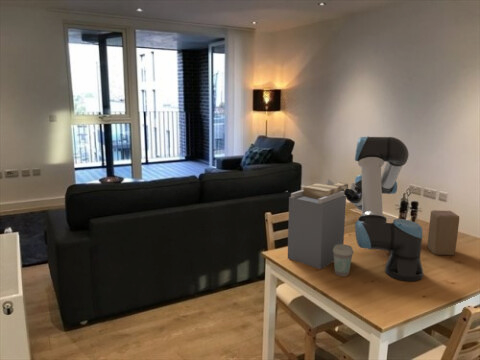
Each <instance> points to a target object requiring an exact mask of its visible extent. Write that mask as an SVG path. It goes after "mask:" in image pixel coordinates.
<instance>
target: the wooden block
mask: <svg viewBox="0 0 480 360" xmlns="http://www.w3.org/2000/svg"><path fill="white" fill-rule="evenodd" d="M459 224H460V216H459V215H458V214H456V213H455V212H453V211H451V210H437V209H436V210H431V211H430V217H429V228H428V236H427V246H426V247H427V249H428V250H429V251H430V252H431V253H432V254H433V255H435V256H436V255H437V256H455V255H456V250H457V242H458V241H457V240H458V233H459V227H460V226H459Z"/></svg>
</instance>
